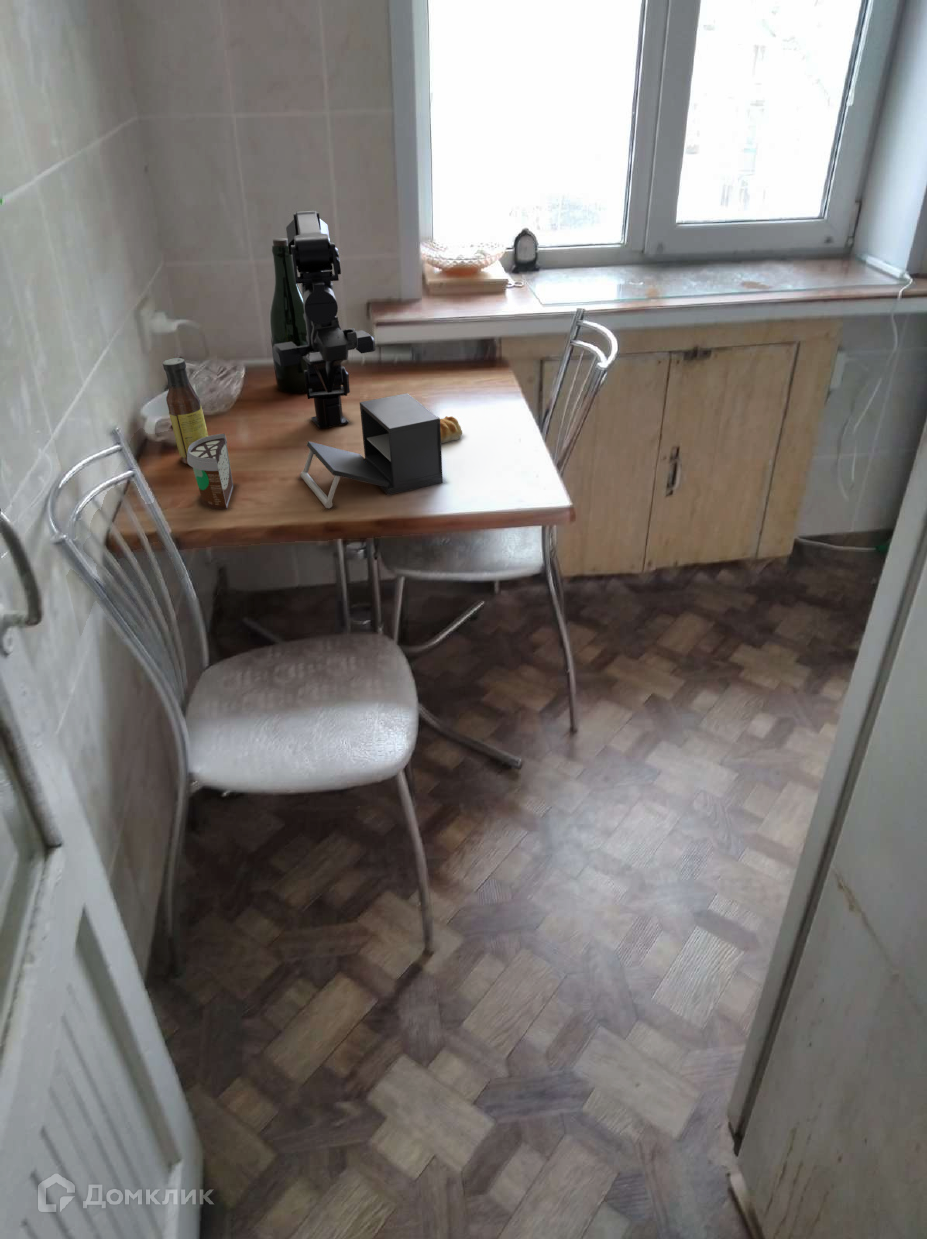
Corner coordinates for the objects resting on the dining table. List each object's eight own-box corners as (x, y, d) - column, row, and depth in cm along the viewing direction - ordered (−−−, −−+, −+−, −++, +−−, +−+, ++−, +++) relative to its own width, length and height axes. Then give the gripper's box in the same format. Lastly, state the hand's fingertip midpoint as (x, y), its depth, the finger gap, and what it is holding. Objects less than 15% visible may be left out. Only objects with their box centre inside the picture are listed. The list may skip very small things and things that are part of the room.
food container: (201, 484, 170) (191, 434, 165) (234, 482, 170) (225, 432, 165) (190, 514, 160) (179, 461, 154) (225, 512, 160) (215, 459, 155)
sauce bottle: (219, 455, 181) (200, 357, 170) (201, 468, 176) (181, 367, 165) (191, 452, 183) (170, 354, 172) (173, 464, 178) (151, 364, 167)
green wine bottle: (270, 393, 211) (247, 243, 193) (287, 378, 219) (267, 233, 201) (312, 395, 209) (293, 243, 191) (328, 380, 217) (311, 233, 199)
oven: (388, 495, 164) (383, 429, 157) (359, 465, 176) (353, 403, 169) (442, 482, 168) (440, 418, 161) (411, 454, 179) (407, 393, 172)
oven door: (376, 518, 166) (321, 507, 160) (348, 487, 177) (296, 476, 171) (389, 482, 163) (334, 470, 157) (360, 454, 174) (307, 441, 168)
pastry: (428, 449, 181) (427, 431, 179) (408, 440, 185) (407, 422, 183) (465, 437, 186) (464, 419, 184) (445, 428, 190) (444, 411, 188)
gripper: (283, 328, 158) (294, 414, 166) (382, 312, 164) (389, 396, 173) (265, 313, 166) (277, 395, 175) (361, 299, 172) (368, 379, 181)
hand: (329, 392), depth 175 cm, fingers closed
